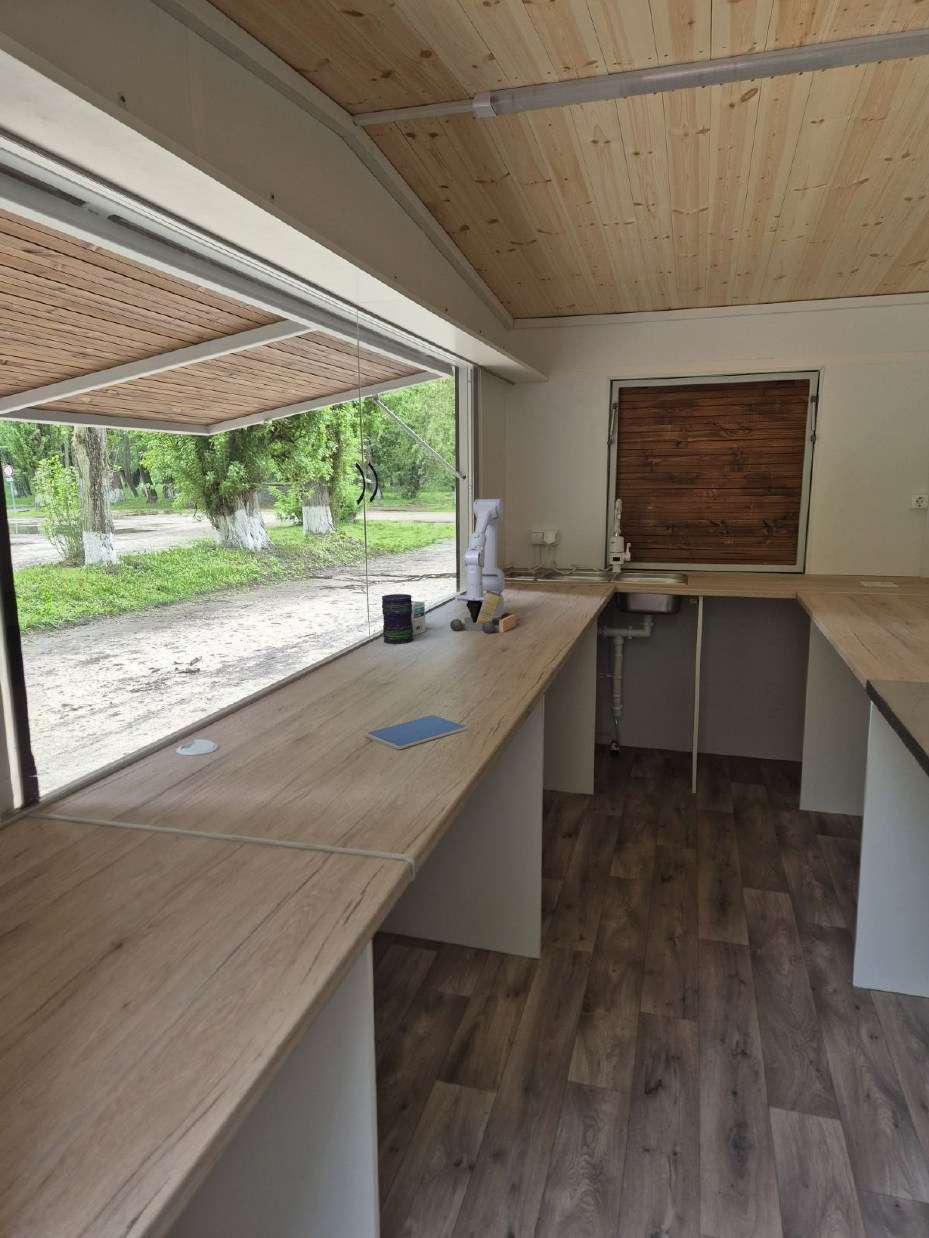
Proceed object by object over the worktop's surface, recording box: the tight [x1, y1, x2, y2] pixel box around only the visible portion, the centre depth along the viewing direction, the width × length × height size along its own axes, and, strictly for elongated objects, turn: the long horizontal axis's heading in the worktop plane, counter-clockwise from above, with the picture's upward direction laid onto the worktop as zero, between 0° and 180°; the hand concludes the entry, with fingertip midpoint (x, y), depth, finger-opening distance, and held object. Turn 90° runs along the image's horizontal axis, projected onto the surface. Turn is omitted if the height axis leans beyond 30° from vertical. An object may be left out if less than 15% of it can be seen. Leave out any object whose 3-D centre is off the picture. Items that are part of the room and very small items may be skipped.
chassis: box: [450, 612, 517, 634], centre depth 289 cm, size 19×19×4 cm
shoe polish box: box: [476, 590, 502, 625], centre depth 288 cm, size 5×5×12 cm
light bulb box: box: [411, 600, 427, 636], centre depth 283 cm, size 11×7×11 cm, turn 58°
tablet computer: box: [364, 714, 469, 750], centre depth 177 cm, size 19×13×1 cm, turn 132°
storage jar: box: [381, 593, 414, 645], centre depth 268 cm, size 10×10×15 cm
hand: (475, 622), depth 290 cm, fingers closed
